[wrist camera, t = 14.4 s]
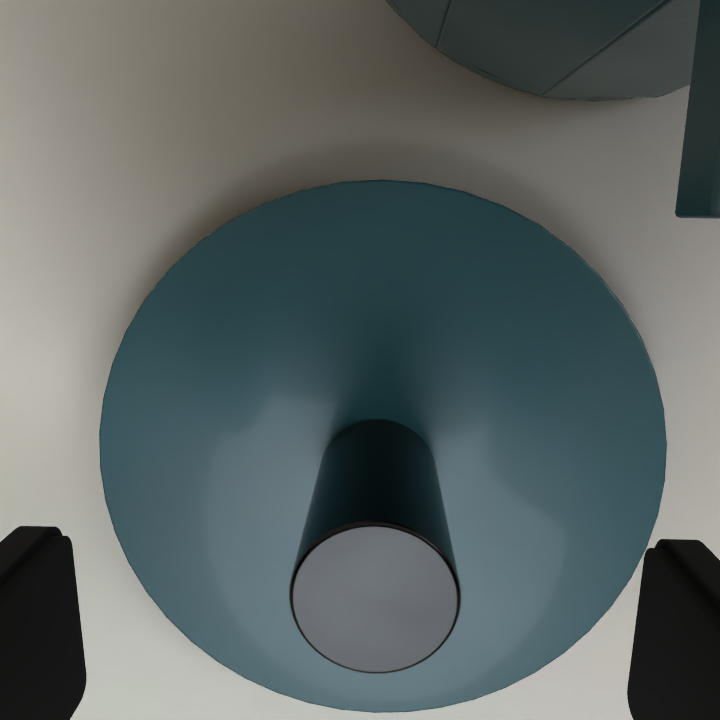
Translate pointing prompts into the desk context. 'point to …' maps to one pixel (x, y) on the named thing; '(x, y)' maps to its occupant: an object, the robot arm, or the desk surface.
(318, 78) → the desk surface
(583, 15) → the pot
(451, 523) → the lid
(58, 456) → the desk surface
